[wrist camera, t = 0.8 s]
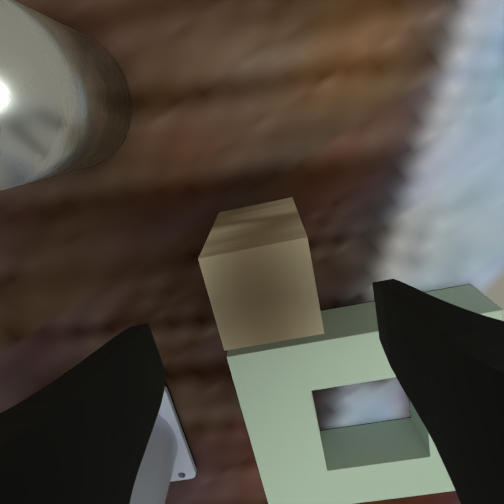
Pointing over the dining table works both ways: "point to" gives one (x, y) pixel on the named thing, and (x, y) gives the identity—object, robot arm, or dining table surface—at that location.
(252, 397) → the hole plate
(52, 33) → the round peg
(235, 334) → the square peg
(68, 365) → the dining table surface
